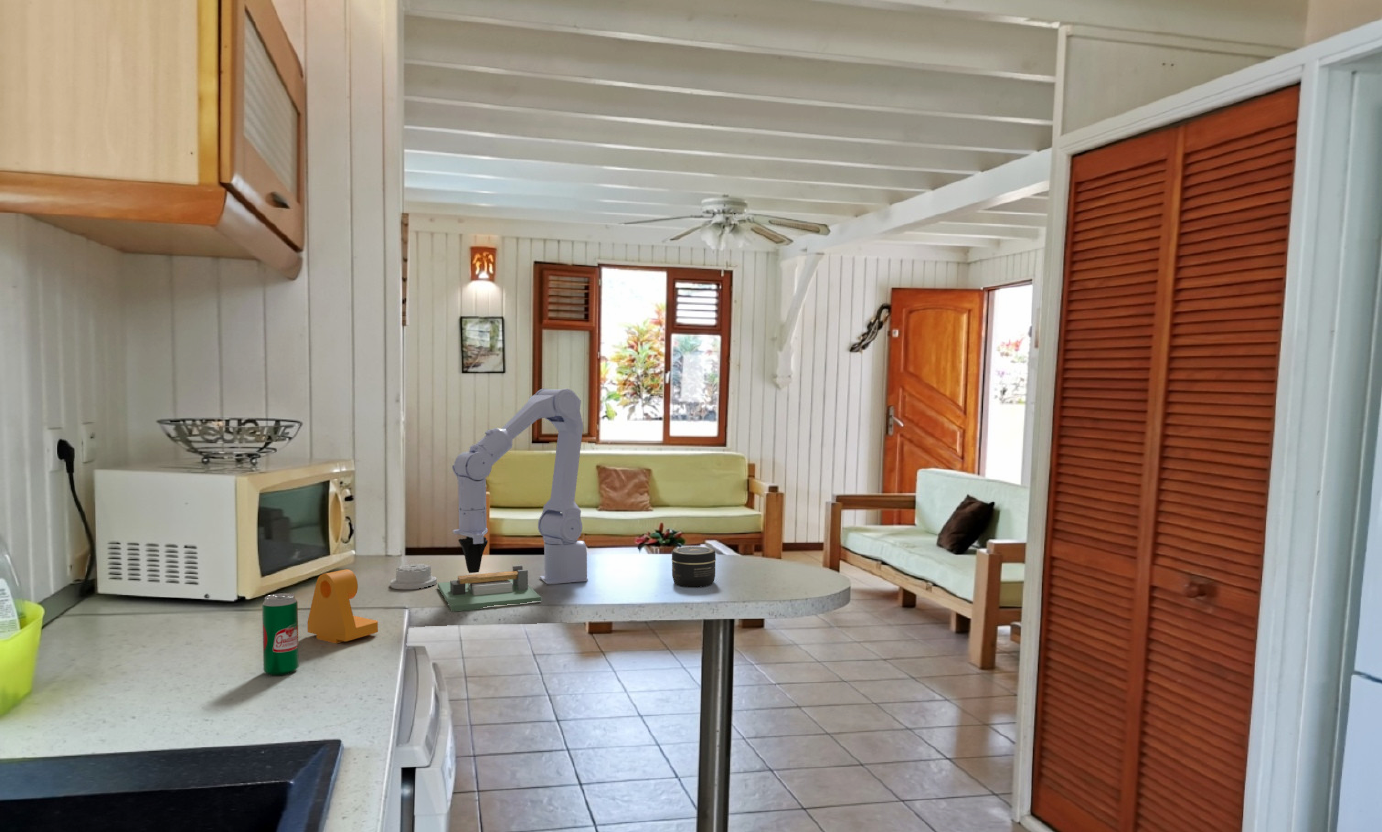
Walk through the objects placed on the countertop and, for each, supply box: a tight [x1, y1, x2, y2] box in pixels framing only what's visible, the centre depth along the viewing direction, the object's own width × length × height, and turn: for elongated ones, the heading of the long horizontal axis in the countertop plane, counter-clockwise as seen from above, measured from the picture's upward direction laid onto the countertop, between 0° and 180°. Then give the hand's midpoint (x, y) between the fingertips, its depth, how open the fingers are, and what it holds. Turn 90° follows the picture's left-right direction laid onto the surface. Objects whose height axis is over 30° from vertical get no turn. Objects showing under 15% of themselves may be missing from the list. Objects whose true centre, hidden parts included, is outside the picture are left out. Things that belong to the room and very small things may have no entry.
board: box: [437, 564, 542, 613], centre depth 191 cm, size 18×22×5 cm
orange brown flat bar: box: [457, 570, 518, 584], centre depth 191 cm, size 14×4×1 cm, turn 113°
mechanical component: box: [390, 563, 438, 590], centre depth 201 cm, size 10×4×10 cm
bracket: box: [306, 568, 379, 644], centre depth 160 cm, size 11×7×12 cm, turn 58°
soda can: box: [261, 592, 300, 677], centre depth 140 cm, size 5×5×12 cm
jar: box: [671, 546, 717, 589], centre depth 202 cm, size 10×10×8 cm
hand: (473, 572), depth 189 cm, fingers closed
